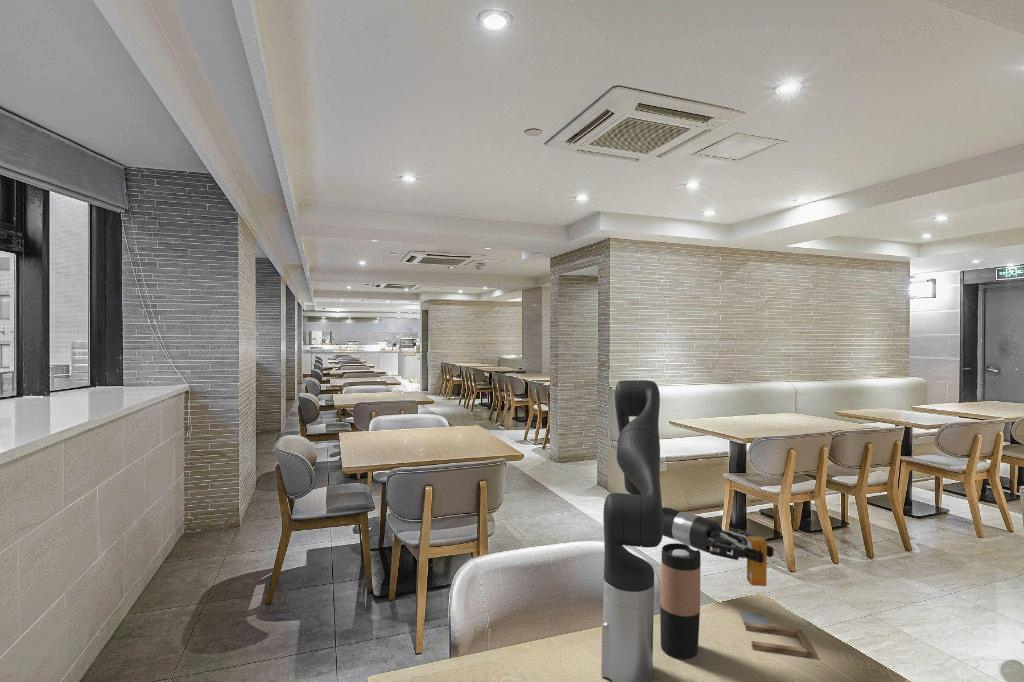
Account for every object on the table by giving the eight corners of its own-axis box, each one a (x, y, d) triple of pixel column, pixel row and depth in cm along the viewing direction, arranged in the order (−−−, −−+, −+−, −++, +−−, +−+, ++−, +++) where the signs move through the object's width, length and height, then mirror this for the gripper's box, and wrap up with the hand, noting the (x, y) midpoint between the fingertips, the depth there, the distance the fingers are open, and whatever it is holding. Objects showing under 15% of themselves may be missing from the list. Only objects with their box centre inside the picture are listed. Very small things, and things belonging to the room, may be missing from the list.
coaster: (744, 625, 117) (744, 622, 117) (740, 613, 122) (740, 610, 122) (768, 628, 116) (769, 625, 116) (763, 616, 121) (763, 613, 121)
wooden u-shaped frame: (752, 649, 108) (752, 644, 108) (744, 626, 116) (744, 622, 116) (813, 657, 105) (814, 652, 105) (801, 634, 114) (801, 629, 114)
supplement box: (760, 579, 120) (762, 535, 120) (766, 587, 117) (768, 541, 116) (745, 578, 120) (747, 534, 120) (750, 586, 117) (752, 540, 117)
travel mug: (659, 657, 105) (661, 556, 105) (658, 635, 112) (660, 541, 112) (701, 663, 103) (703, 560, 103) (697, 641, 111) (699, 545, 110)
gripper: (680, 523, 125) (754, 546, 112) (711, 509, 134) (782, 530, 121) (679, 554, 125) (753, 582, 112) (710, 539, 134) (781, 563, 121)
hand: (768, 555), depth 117 cm, fingers closed on supplement box, 4 cm apart
